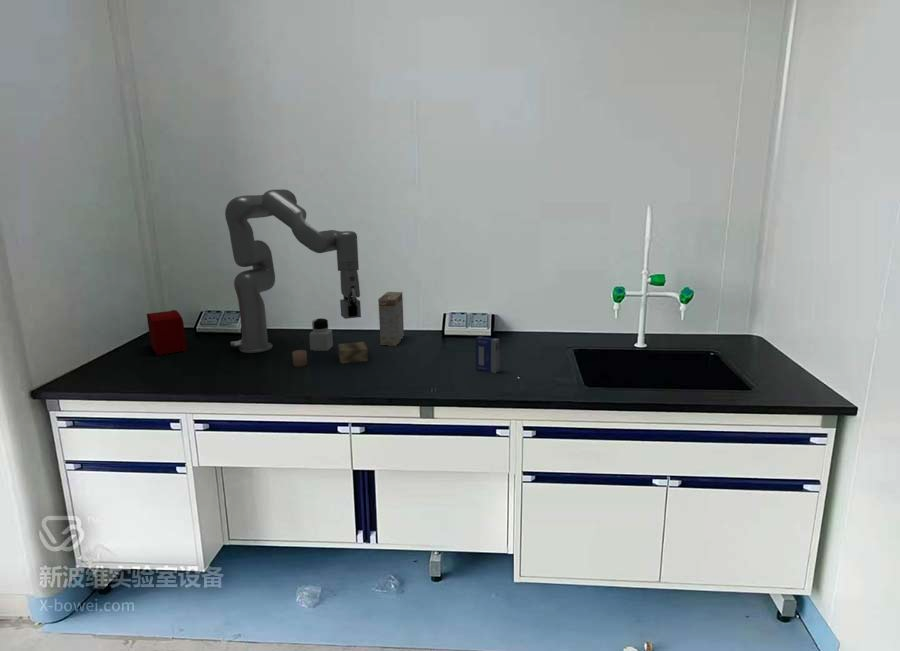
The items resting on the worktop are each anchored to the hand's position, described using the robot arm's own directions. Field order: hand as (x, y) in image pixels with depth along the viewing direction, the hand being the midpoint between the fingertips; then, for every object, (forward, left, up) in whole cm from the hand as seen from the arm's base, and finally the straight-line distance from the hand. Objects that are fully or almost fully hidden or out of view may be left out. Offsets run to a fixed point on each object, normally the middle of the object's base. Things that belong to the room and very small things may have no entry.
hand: (350, 313), depth 212 cm
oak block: (0, 0, -17) cm, 17 cm away
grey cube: (0, 0, -1) cm, 1 cm away
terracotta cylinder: (-20, +1, -17) cm, 26 cm away
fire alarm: (-64, +45, -17) cm, 80 cm away
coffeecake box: (+21, +17, -17) cm, 32 cm away
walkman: (+39, -34, -17) cm, 55 cm away
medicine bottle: (-8, +19, -17) cm, 27 cm away
